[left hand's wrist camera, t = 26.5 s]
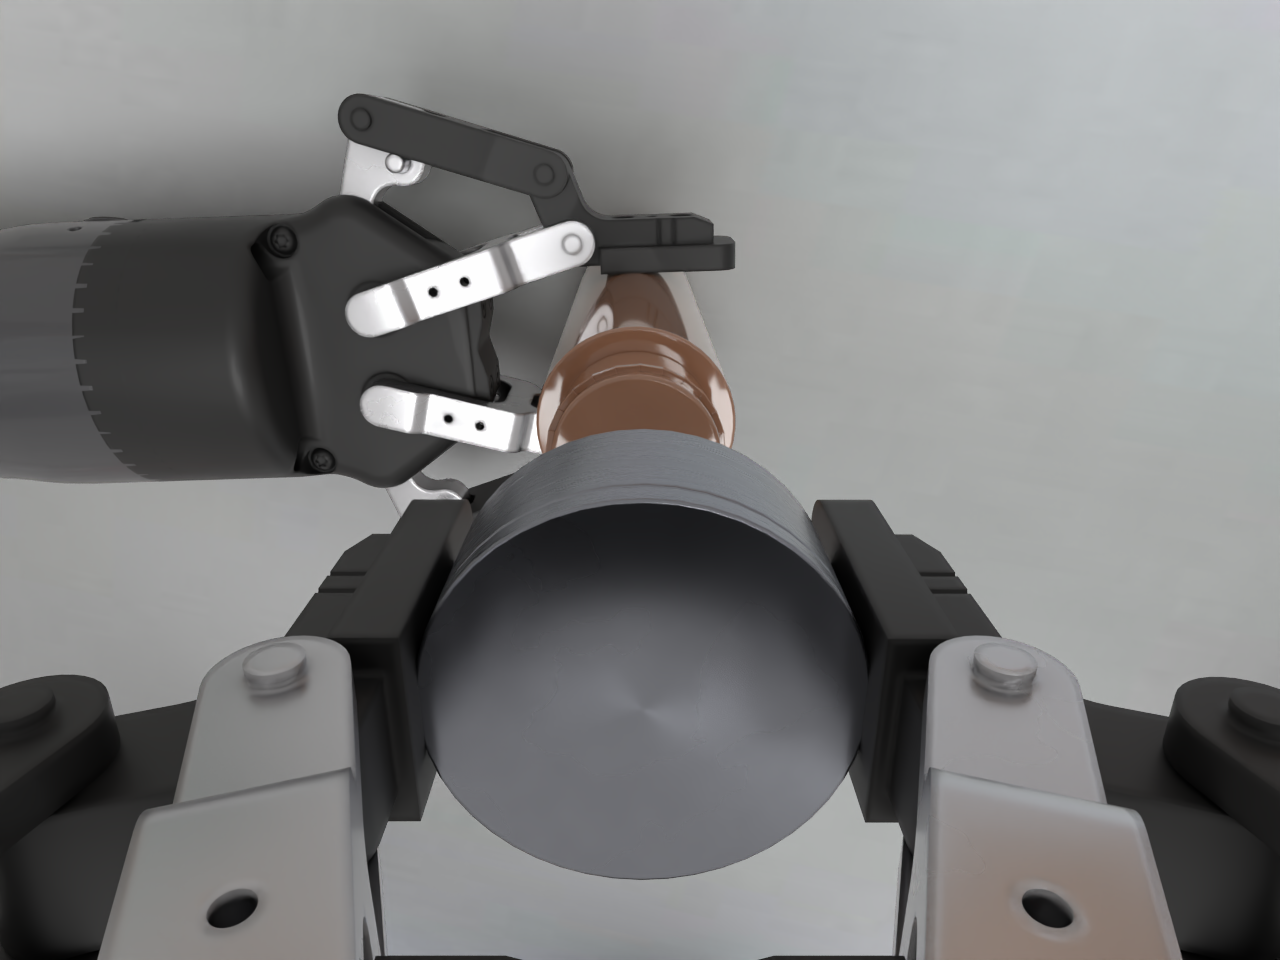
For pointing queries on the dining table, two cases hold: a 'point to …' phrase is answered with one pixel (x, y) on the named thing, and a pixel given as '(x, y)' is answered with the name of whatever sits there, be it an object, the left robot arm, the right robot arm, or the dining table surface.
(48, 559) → the dining table surface
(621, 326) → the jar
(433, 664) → the lid
